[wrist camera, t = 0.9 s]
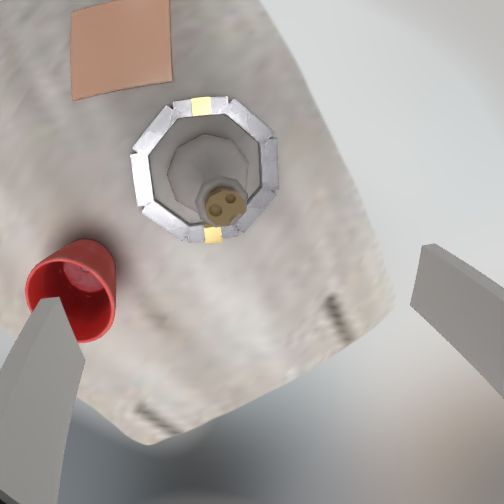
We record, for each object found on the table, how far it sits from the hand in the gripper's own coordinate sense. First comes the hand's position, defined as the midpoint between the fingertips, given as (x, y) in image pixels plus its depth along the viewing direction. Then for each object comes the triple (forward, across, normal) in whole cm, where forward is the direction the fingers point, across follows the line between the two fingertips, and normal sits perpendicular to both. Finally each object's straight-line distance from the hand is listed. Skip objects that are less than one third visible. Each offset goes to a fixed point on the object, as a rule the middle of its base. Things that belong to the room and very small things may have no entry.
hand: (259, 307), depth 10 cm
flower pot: (+29, -17, -10) cm, 35 cm away
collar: (+29, 0, 0) cm, 29 cm away
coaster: (+29, -9, +17) cm, 35 cm away
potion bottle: (+29, 0, 0) cm, 29 cm away
